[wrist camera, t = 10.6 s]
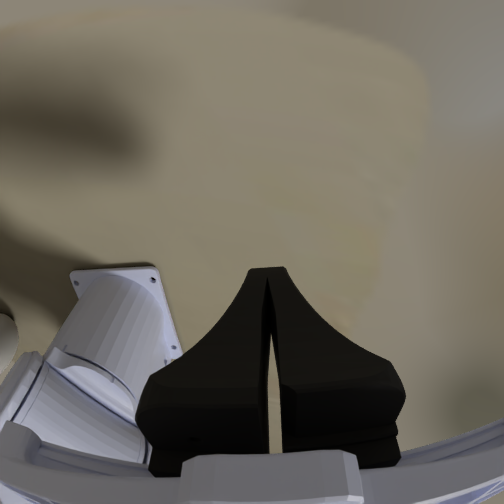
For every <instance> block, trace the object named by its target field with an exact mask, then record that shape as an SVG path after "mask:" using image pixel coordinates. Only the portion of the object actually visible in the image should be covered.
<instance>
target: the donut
mask: <svg viewBox="0 0 504 504" xmlns="http://www.w3.org/2000/svg"><path fill="white" fill-rule="evenodd" d="M18 342H19V335H18V329H17V326H16V324H15V322H14V321H13V320H12V319H11V318H10V317H9V316H7V315H5V314H0V374H1V373H2V372H3V371H4V370H5V369H6V367H7V366H8V364H9V363H10V362H11V360H12V359H13V357H14V354H15V352H16V350H17V346H18Z"/></svg>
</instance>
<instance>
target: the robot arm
mask: <svg viewBox="0 0 504 504" xmlns="http://www.w3.org/2000/svg"><path fill="white" fill-rule="evenodd" d="M151 277H153V278H155V279H156V280H152V279H151ZM70 280H71V282H72V284H73V287H74V289H75V292H76V294H77V296H78V299H79V300H78V302H77V303H76V305H75V306H74V308H73V309H72V311H71V312H70V314H69V316H68V317H67V319H66V320H65V322H64V323H63V325H62V326H61V328H60V330H59V331H58V333H57V334H56V336H55V338H54V339H53V341H52V343H51V344H50V346H49V347H48V349H47V351H46V352H45V354H44V356H41V355H40V353H39V352H38V351H33V352H32V353H31V352H25V353H23V354H22V355H21V356H20V357H19V359H18V360H17V361H16V363H15V364H14V365H13V367H12V368H11V370H10V372H9V373H8V374H7V376H6V377H5V379H4V381H3V382H2V384H1V385H0V504H479V503H480V502H483V501H485V500H487V499H488V498H490V497H492V496H494V495H496V494H498V493H500V492H501V491H503V490H504V418H502V419H499V420H497V421H495V422H492V423H490V424H487V425H485V426H482V427H480V428H477V429H474V430H472V431H469V432H466V433H463V434H460V435H458V436H455V437H452V438H449V439H446V440H443V441H440V442H436V443H433V444H429V445H426V446H422V447H419V448H415V449H411V450H407V451H403V452H400V450H399V446H398V442H397V439H396V436H397V434H398V429H397V425H396V422H395V421H396V419H397V417H398V415H399V413H400V411H401V409H402V407H403V405H404V402H405V399H406V394H405V390H404V387H403V384H402V382H401V379H400V378H399V376H398V374H397V372H396V370H395V369H394V367H393V365H392V363H391V362H390V361H388V360H386V359H384V358H382V357H380V356H377V355H375V354H373V353H371V352H369V351H367V350H365V349H364V348H362V347H360V346H358V345H357V344H355V343H353V342H352V341H350V340H349V339H348V338H346V337H345V336H343V335H342V334H341V333H339V332H338V331H337V330H335V329H334V328H333V327H332V326H331V325H329V324H328V323H327V322H326V321H325V320H324V319H323V318H322V317H321V316H320V315H319V314H318V313H317V312H316V311H315V310H314V309H313V308H312V306H311V305H310V304H309V303H308V302H307V301H306V299H305V298H304V297H303V295H302V294H301V293H300V291H299V290H298V289H297V287H296V286H295V284H294V283H293V281H292V279H291V278H290V276H289V274H288V272H287V270H286V268H284V267H268V268H252V269H250V270H249V271H248V273H247V276H246V278H245V280H244V283H243V284H242V286H241V288H240V290H239V292H238V293H237V295H236V297H235V299H234V300H233V302H232V303H231V305H230V306H229V307H228V309H227V310H226V312H225V313H224V315H223V316H222V317H221V318H220V320H219V321H218V322H217V323H216V324H215V326H214V327H213V328H212V329H211V330H210V331H209V332H208V333H207V334H206V335H205V336H204V337H203V338H202V339H201V340H200V341H199V342H198V343H197V344H196V345H194V346H193V347H192V348H191V349H190V350H188V351H187V352H186V353H184V354H183V352H182V349H181V346H180V343H179V340H178V337H177V334H176V330H175V327H174V324H173V321H172V317H171V314H170V311H169V307H168V304H167V300H166V297H165V293H164V290H163V286H162V283H161V279H160V275H159V272H158V270H157V269H156V268H155V267H153V266H145V267H128V268H111V269H93V270H75V271H72V272H71V273H70ZM76 281H78V283H77V282H76ZM271 335H272V341H273V347H274V354H275V360H276V366H277V372H278V379H279V388H280V407H281V429H282V452H283V453H277V454H270V453H269V420H268V369H269V355H270V341H271ZM173 345H174V346H173ZM171 359H176V360H175V361H173V362H171Z"/></svg>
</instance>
